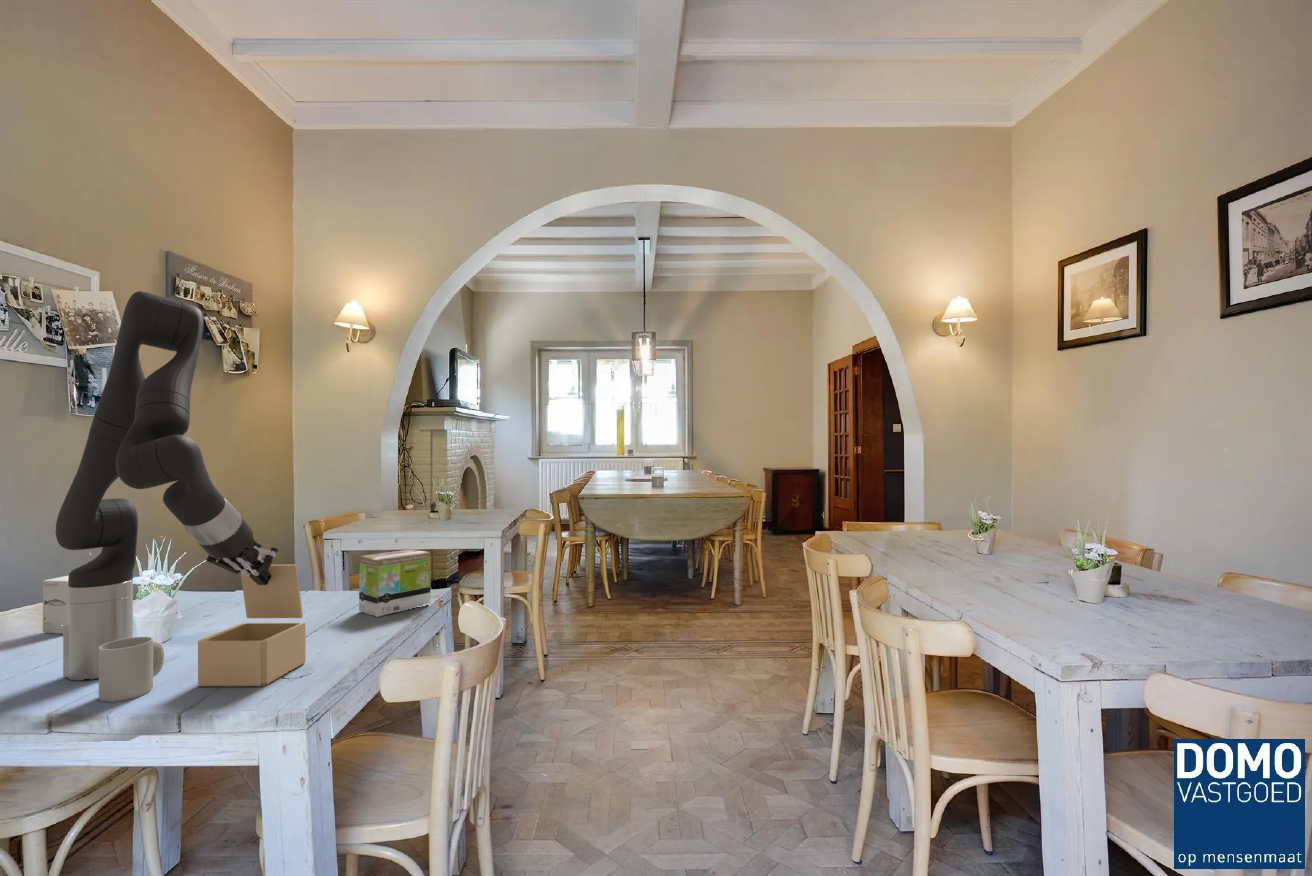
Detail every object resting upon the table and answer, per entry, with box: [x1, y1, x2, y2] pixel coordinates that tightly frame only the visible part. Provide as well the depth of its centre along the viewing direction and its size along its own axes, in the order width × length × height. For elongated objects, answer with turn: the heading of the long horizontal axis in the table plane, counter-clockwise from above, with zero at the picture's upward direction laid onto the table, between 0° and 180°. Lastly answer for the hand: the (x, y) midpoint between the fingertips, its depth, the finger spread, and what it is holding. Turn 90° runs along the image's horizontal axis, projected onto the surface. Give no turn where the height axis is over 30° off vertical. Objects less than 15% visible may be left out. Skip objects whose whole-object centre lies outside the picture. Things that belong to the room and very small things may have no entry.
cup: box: [98, 636, 165, 703], centre depth 108 cm, size 7×10×9 cm
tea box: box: [358, 548, 432, 618], centre depth 162 cm, size 15×10×15 cm
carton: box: [197, 621, 306, 688], centre depth 115 cm, size 13×12×8 cm
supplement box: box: [42, 575, 69, 634], centre depth 147 cm, size 7×7×13 cm
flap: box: [240, 563, 304, 619], centre depth 120 cm, size 11×1×11 cm, turn 88°
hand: (265, 581), depth 119 cm, fingers closed
